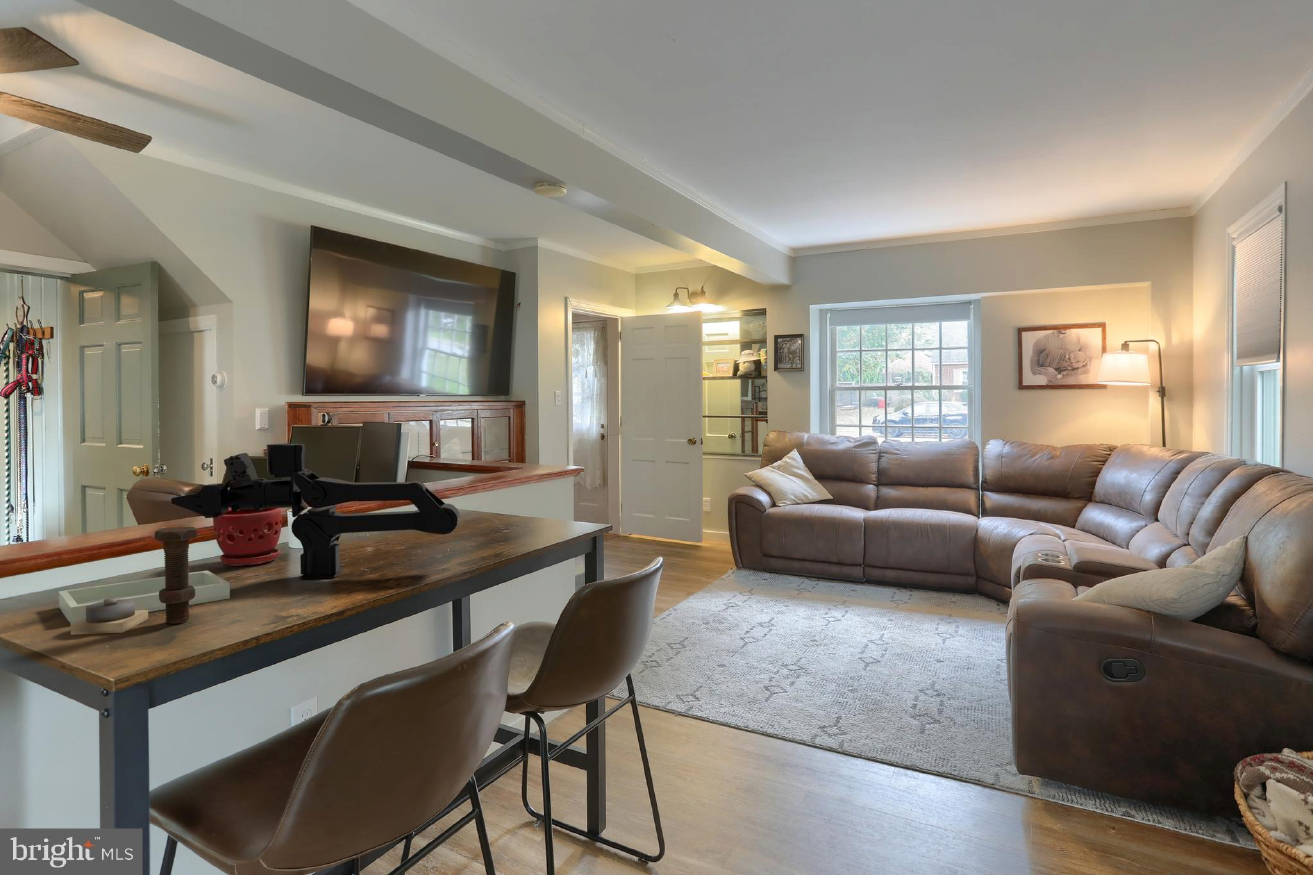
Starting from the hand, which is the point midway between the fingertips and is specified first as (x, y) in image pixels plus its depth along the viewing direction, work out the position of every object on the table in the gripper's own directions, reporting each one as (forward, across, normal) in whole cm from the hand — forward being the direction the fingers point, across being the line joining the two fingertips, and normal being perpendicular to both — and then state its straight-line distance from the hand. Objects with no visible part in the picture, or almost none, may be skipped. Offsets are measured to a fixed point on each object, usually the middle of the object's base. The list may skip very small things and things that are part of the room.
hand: (182, 497), depth 137 cm
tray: (0, +16, +17) cm, 23 cm away
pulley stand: (-2, +30, +17) cm, 35 cm away
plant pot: (-6, -17, +17) cm, 24 cm away
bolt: (-11, +30, +17) cm, 36 cm away
